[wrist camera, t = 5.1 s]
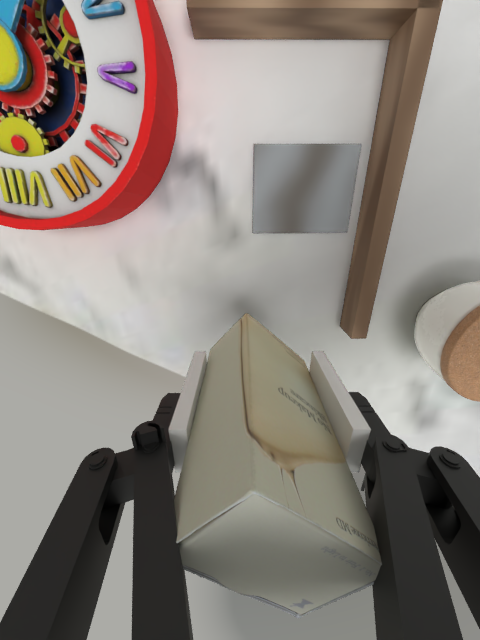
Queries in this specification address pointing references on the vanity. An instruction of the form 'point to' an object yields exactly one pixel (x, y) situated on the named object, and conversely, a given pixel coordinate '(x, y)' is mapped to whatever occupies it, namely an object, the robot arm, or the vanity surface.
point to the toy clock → (82, 110)
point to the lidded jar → (452, 337)
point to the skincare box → (270, 483)
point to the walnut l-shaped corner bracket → (336, 159)
